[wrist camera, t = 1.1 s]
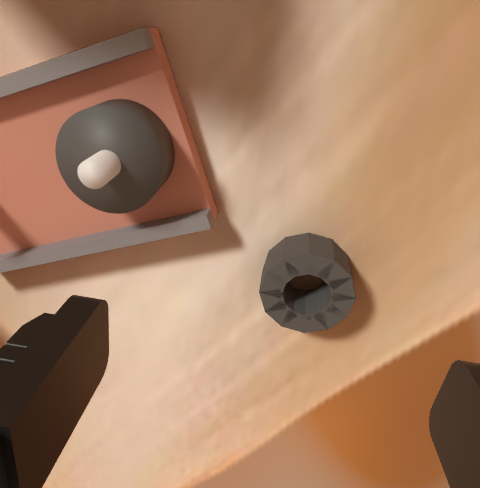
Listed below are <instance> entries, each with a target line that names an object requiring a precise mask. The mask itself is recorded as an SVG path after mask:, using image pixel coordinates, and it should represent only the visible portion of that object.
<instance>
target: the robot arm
mask: <svg viewBox="0 0 480 488" xmlns="http://www.w3.org/2000/svg"><path fill="white" fill-rule="evenodd" d="M108 356H109V322H108V304H107V302H106V301H105V300H101V299H95V298H89V297H83V296H77V295H73V296H71V297H70V298H69V299H68V300H67V301H66V302H65V303H64V304H63V305H62V307H61V308H60V309H59V310H58V311H57V312H56V314H55V315H54V314H48V313H44V314H42V315H40V316H38V317H36V318H35V319H33V320H31V321H29V322H28V323H26V324H24V325H22V326H21V328H20V329H19V330H18V331H17V332H16V333H15V334H14V335H13V336H12V337H11V338H10V339H9V340H8V341H7V344H6V345H4V346H3V347H2V348H1V349H0V488H42V486H43V485H44V483H45V481H46V479H47V477H48V476H49V474H50V472H51V470H52V468H53V467H54V465H55V463H56V461H57V459H58V457H59V456H60V454H61V452H62V450H63V448H64V447H65V445H66V443H67V441H68V439H69V438H70V436H71V434H72V432H73V430H74V428H75V427H76V425H77V423H78V421H79V419H80V418H81V416H82V414H83V412H84V410H85V409H86V407H87V405H88V403H89V401H90V399H91V398H92V396H93V394H94V392H95V390H96V389H97V387H98V385H99V383H100V381H101V379H102V377H103V375H104V373H105V370H106V366H107V362H108ZM429 427H430V433H431V437H432V440H433V443H434V446H435V448H436V451H437V454H438V456H439V459H440V462H441V464H442V467H443V470H444V472H445V475H446V477H447V480H448V483H449V485H450V488H480V364H478V363H473V362H467V361H461V360H457V361H455V362H454V363H453V364H452V365H451V367H450V369H449V371H448V373H447V375H446V378H445V380H444V382H443V384H442V386H441V388H440V390H439V393H438V395H437V397H436V399H435V401H434V403H433V406H432V408H431V411H430V417H429Z"/></svg>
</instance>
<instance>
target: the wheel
mask: <svg viewBox="0 0 480 488" xmlns="http://www.w3.org/2000/svg"><path fill="white" fill-rule="evenodd" d="M308 274H309V275H312V276H316V277H319V278H322V279H323V280H324V281H325V283H324V284H323V285H321V286H320V287H318V288H317V289H313V290H306V291H304V290H301V289H297V288H294V287H293V286H292V285H291V284H290V283H289V281H290V280H292V279H293V278H294V277H296V276H302V275H308ZM259 293H260V296H261V300H262V303H263V306H264V309H265V312H266V313H267V314H268V315H269V316H271V317H272V318H273V319H274V320H275V321H276V322H277V323H278V324H280V325H281V326H282V327H286V328H289V329H293V330H296V331H300V332H303V333H306V332H314V331H321V330H328V329H329V328H331V327H333V326H334V325H336V324H337V323H339V322H340V321H342V320H343V319H345V318H346V317H347V316H348V314H349V311H350V309H351V307H352V305H353V303H354V301H355V299H356V296H355V291H354V286H353V281H352V275H351V270H350V265H349V260H348V255H347V254H346V253H345V252H344V251H343V250H342V249H341V248H340V247H339V246H338V245H337V244H336V243H335V242H334V241H333V240H332V239H329V238H325V237H322V236H318V235H315V234H311V233H306V234H300V235H295V236H290V237H285V238H284V239H283V240H282V241H281V242H279V243H278V244H277V245H276V246H275V247H273V248H272V249H271V250H270V251H269V253H268V256H267V259H266V262H265V265H264V268H263V271H262V278H261V284H260V290H259Z"/></svg>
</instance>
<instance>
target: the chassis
mask: <svg viewBox="0 0 480 488" xmlns="http://www.w3.org/2000/svg"><path fill="white" fill-rule="evenodd" d="M217 215H218V210H217V207H216V204H215V201H214V198H213V195H212V192H211V189H210V186H209V182H208V179H207V176H206V173H205V170H204V167H203V164H202V161H201V158H200V155H199V152H198V149H197V146H196V143H195V140H194V137H193V134H192V131H191V128H190V125H189V122H188V119H187V116H186V113H185V110H184V107H183V103H182V100H181V97H180V94H179V91H178V88H177V85H176V82H175V79H174V76H173V73H172V70H171V67H170V64H169V61H168V58H167V55H166V52H165V49H164V46H163V43H162V40H161V37H160V34H159V31H158V28H140V29H137V30H134V31H131V32H128V33H125V34H123V35H120V36H117V37H114V38H111V39H108V40H105V41H102V42H100V43H97V44H94V45H91V46H88V47H85V48H82V49H79V50H77V51H74V52H71V53H68V54H65V55H62V56H59V57H56V58H54V59H51V60H48V61H45V62H42V63H39V64H36V65H33V66H31V67H28V68H25V69H22V70H19V71H16V72H13V73H10V74H8V75H5V76H2V77H0V273H2V272H7V271H12V270H17V269H21V268H26V267H31V266H36V265H41V264H45V263H50V262H55V261H60V260H65V259H70V258H74V257H79V256H84V255H89V254H94V253H99V252H103V251H108V250H113V249H118V248H123V247H127V246H132V245H137V244H142V243H147V242H152V241H156V240H161V239H166V238H171V237H176V236H181V235H185V234H190V233H195V232H200V231H205V230H209V229H211V228H212V226H213V224H214V221H215V219H216V217H217Z"/></svg>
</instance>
